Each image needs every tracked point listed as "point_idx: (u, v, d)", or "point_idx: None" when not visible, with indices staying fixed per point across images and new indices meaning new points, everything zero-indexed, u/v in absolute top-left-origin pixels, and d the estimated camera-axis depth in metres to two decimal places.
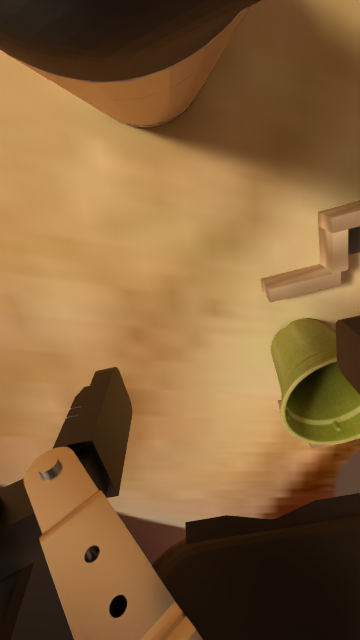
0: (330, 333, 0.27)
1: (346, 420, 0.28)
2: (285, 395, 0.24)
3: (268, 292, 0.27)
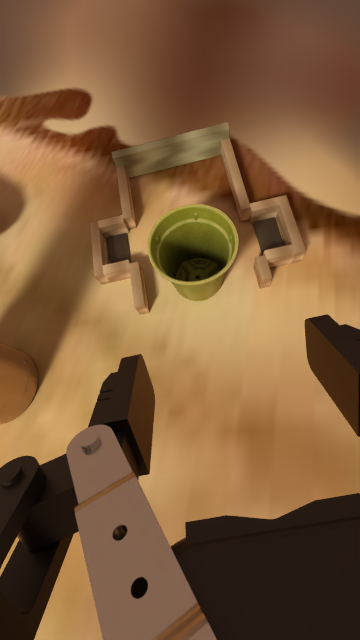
0: (168, 260, 0.38)
1: (227, 233, 0.34)
2: (179, 283, 0.31)
3: (138, 307, 0.38)
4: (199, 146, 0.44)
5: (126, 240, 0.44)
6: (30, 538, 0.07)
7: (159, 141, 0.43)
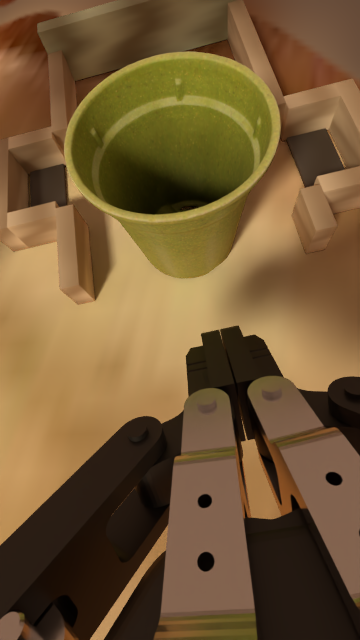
0: (126, 196, 0.19)
1: (249, 119, 0.15)
2: (133, 219, 0.12)
3: (67, 289, 0.19)
4: (190, 15, 0.26)
5: (63, 176, 0.25)
6: (142, 493, 0.08)
7: (120, 2, 0.25)
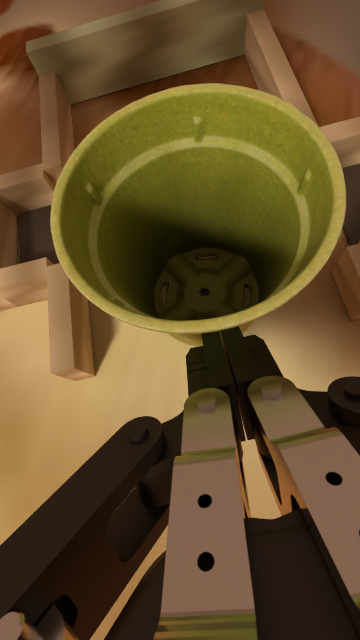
0: None
1: (292, 168, 0.12)
2: (145, 327, 0.09)
3: (60, 372, 0.15)
4: (203, 29, 0.22)
5: None
6: (143, 494, 0.08)
7: (121, 15, 0.21)
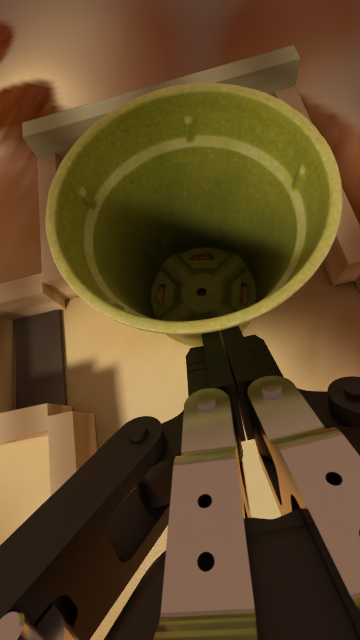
0: (127, 257, 0.15)
1: (285, 164, 0.12)
2: (148, 329, 0.09)
3: None
4: None
5: (59, 329, 0.18)
6: (142, 493, 0.08)
7: (131, 95, 0.18)
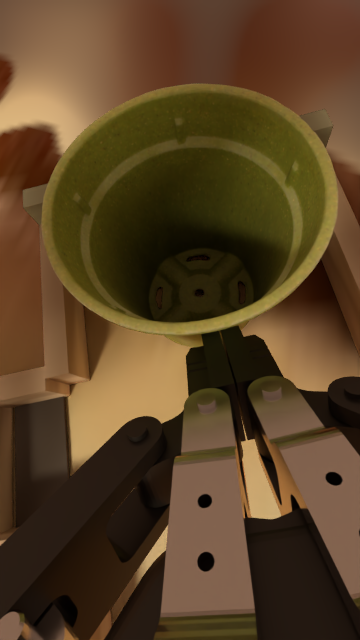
0: None
1: (277, 161, 0.12)
2: (152, 332, 0.09)
3: None
4: None
5: (63, 421, 0.17)
6: (143, 494, 0.08)
7: None
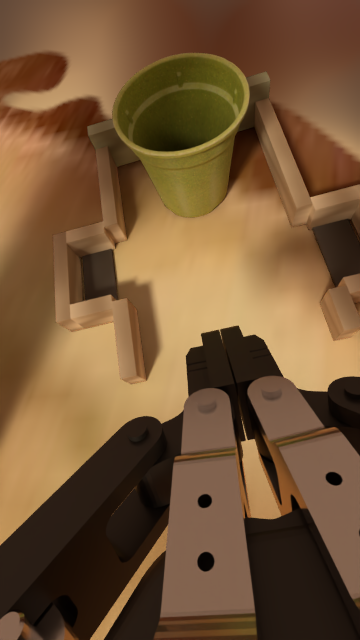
0: None
1: (229, 92, 0.23)
2: (165, 155, 0.20)
3: (126, 378, 0.22)
4: None
5: (112, 260, 0.28)
6: (143, 493, 0.08)
7: None
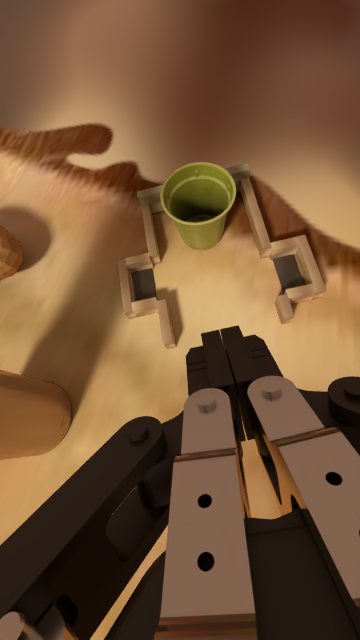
0: (176, 216, 0.44)
1: (225, 184, 0.41)
2: (191, 224, 0.38)
3: (166, 343, 0.40)
4: None
5: (152, 275, 0.46)
6: (142, 493, 0.08)
7: None
